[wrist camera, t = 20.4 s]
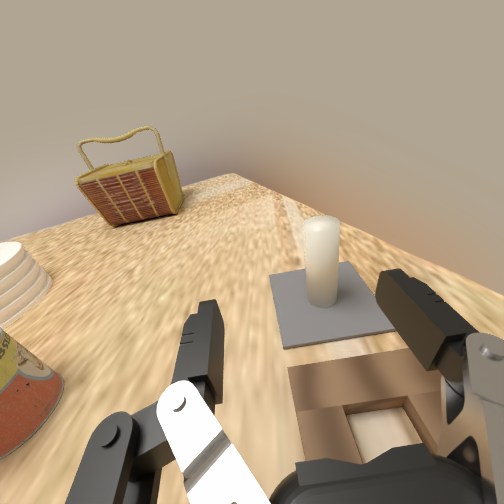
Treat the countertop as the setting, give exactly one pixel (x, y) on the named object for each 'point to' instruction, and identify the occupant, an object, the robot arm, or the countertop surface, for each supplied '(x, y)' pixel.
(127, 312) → the countertop surface
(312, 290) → the cream cylinder
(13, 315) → the plate stack
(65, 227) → the countertop surface
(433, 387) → the walnut holder
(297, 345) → the grey mat
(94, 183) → the picnic basket
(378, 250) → the countertop surface
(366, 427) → the countertop surface
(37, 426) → the canned food
